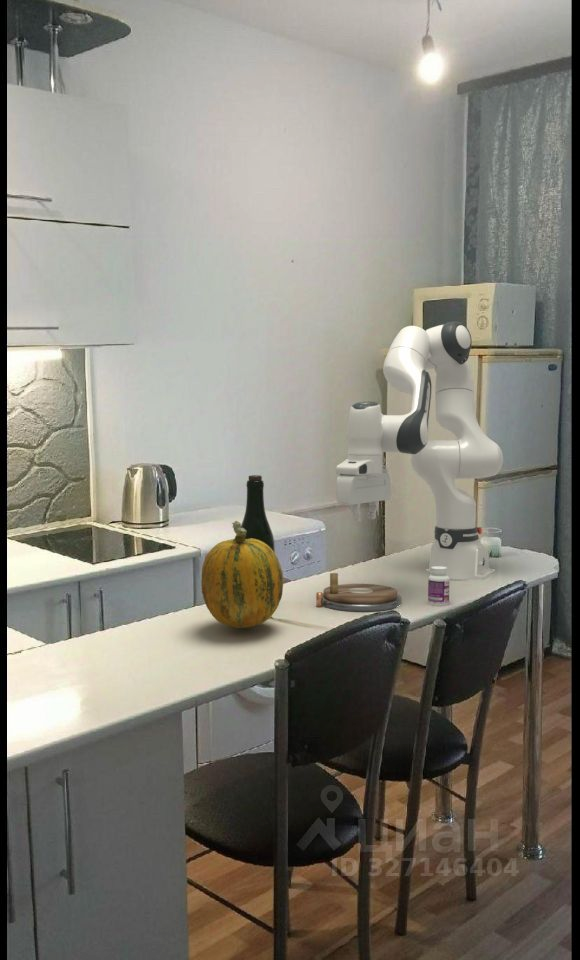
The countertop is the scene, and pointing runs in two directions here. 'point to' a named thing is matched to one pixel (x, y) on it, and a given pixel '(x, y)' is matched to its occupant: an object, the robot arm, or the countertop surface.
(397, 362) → the robot arm
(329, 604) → the turntable base
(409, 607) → the countertop surface
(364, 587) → the turntable
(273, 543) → the wine bottle
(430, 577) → the pill bottle
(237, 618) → the pumpkin
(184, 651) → the countertop surface
